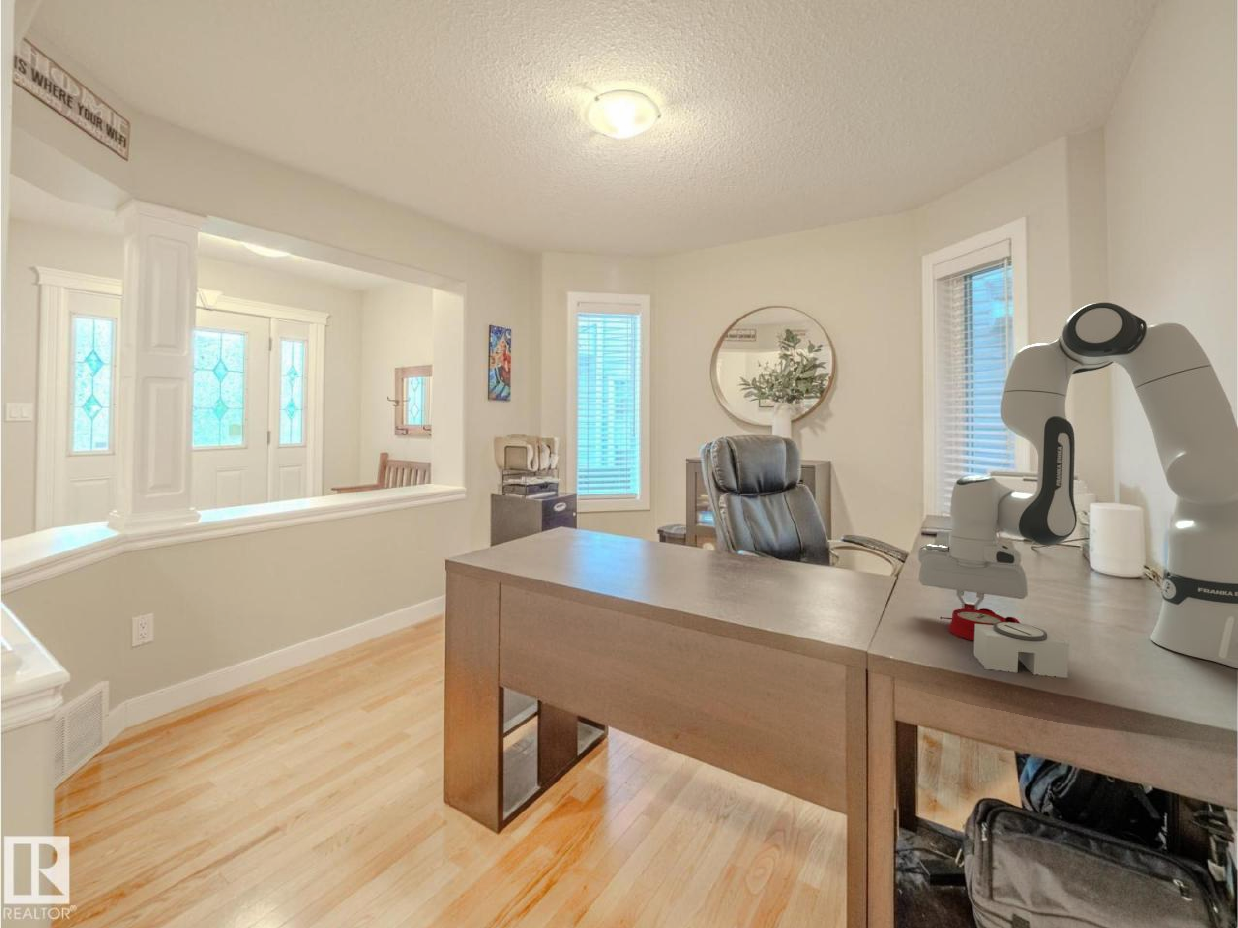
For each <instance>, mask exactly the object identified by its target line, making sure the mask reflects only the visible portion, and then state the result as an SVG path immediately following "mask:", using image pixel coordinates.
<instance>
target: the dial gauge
mask: <svg viewBox="0 0 1238 928" xmlns="http://www.w3.org/2000/svg"><path fill="white" fill-rule="evenodd" d="M1069 647H1070V643H1069V642H1068V641H1067V640H1065V639H1064V638H1062V637H1061V636H1060V635H1058V633H1056V632H1055V631H1053V630H1050V629H1041V628H1039V627H1035V626H1034V625H1029V624H1026V623H1014V622H998V623H995V624H994V625H985V624H975V630H974V641H973V651H972V652H973V654H974V655H973V657H974V656H975V657H976V658H977V659H978V660H977V659H976V658H975V657H974V658H975V659H976V660H977V661H978V662H979V664H980V663H981V664H982V665H983V666H984V667H983V666H982V665H981V666H982V667H983V668H984V669H985V670H989V669H995V670H994V671H999V670H1002V671H1001V672H1008V671H1009V672H1010V673H1018V667H1019V662H1020V661H1021V662H1022V663H1023V664H1024V665H1025V666H1026V667H1025V666H1024V665H1023V664H1022V663H1021V662H1020V663H1021V664H1022V665H1023V666H1024V667H1025V668H1026V669H1027V670H1029V672H1031V673H1032V674H1033V675H1036V674H1038V676H1045V675H1047V676H1048V677H1054V676H1056V678H1063V679H1064V678H1066V679H1067V678H1068V668H1069V667H1068V666H1069V652H1070V651H1069V649H1070V648H1069ZM1018 652H1019V653H1018ZM1019 660H1020V661H1019ZM1047 676H1046V677H1047Z"/></svg>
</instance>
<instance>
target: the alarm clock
mask: <svg viewBox="0 0 1238 928" xmlns="http://www.w3.org/2000/svg"><path fill="white" fill-rule="evenodd" d="M939 618H940V620H943V619H944V620H951V621H950V623H949V625H948V627H947V628H948V629H947V630H948V631H949V632H950V633H951V634H953V635H954V637H955V636H956V637H955V638H958V639H959V638H962V639H966V640H969V641H973V642H974V630H975V624H985V625H994V624H995V623H998V622H1014V623H1020V621H1019V620H1018V618H1016V617H1014V616H1006V617H1003V616H1002V615H1000V614H997V613H996V612H995V611H993V610H992V609H989V608H987V607H985V608H984V607H983V608H978V609H966V608H963V609H962V608H956V609H954V610H953V611H952V613H951V617H943V616H940V617H939ZM1020 624H1021V623H1020Z"/></svg>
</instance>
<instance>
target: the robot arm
mask: <svg viewBox="0 0 1238 928" xmlns="http://www.w3.org/2000/svg"><path fill="white" fill-rule="evenodd" d="M1062 328H1063V329H1062V331H1061V335H1060V336H1059V338H1057V340H1055V341H1053V342H1049V343H1034V344H1030V345H1027V346H1024V347H1023V348H1021V349H1019V351H1018V352H1017V353H1016V354H1015V356H1014V359H1013V360H1012V363H1011V366H1010V367H1009V370H1008V374H1007V376H1006V379H1005V380H1006V381H1005V383H1004V388H1003V393H1002V396H1001V400H1000V418H1001V421H1002V422H1003V424H1004V425H1005V427H1007V429H1009V430H1010V431H1011V432H1013V433H1014V434H1016V435H1018V436H1020V437H1022V438H1024V439H1026V440H1027V441H1029V442H1030V443H1031V444H1032V445H1033V446H1034V448H1035V450H1036V452H1037V472H1036V474H1037V477H1036V490H1035V492H1034V493H1030V492H1029V493H1028V492H1024V491H1019V490H1015V489H1014V488H1013V489H1012V488H1010V487H1008V486H1005V485H1004V484H1001V483H1000V482H999V481H998V480H997V479H996V477H994V476H991V475H986V474H985V475H984V474H983V475H982V474H981V475H968V476H964V477H961V478H959V479H957V480H956V481H955V483H954V486H953V487H952V492H951V498H950V509H949V511H950V512H949V516H950V519H951V527H950V530H949V535H948V536H949V537H948V546H943V545H932V544H926V545H924V546H923V545H922V546H921V547H920V548H919V549H918V551H917V560H918V562H919V563H920V564H919V565H920V566H919V571H918V577H917V579H918V582H919V583H920V584H921V585H922V586H926V587H933V588H939V589H948V590H954V591H956V596H957V599H958V600H959V602H960V603H961V609H963V608H966V609H977V610H979V606H980V604H981V603H982V602H983V600H985V595H990V596H996V597H997V596H998V597H1003V598H1011V599H1018V600H1024V599H1025V598H1027V597H1028V595H1029V588H1028V586H1029V585H1028V577H1027V573H1026V570H1025V567H1024V565H1023V564H1022V560H1023V557H1022V553H1021V552H1020V551H1019V550H1018V549H1016V548H1012V547H1010V546H1007V545H1004V544H1001V543H999V542H998V533H999V532H1000V533H1003V534H1007V535H1010V536H1014V537H1018V538H1023V539H1026V540H1028V541H1031V542H1033V543H1037V544H1040V545H1041V546H1048V547H1050V546H1055V545H1058V544H1060V543H1062V542H1063V541H1065V540H1066V539H1068V538H1069V537H1070V536H1071V535H1072V534H1073V532H1074V531H1075V529H1076V527H1077V523H1078V522H1077V519H1078V517H1077V510H1076V506H1075V498H1074V497H1075V496H1074V495H1075V493H1074V489H1075V486H1074V485H1075V479H1074V478H1075V455H1076V454H1075V453H1076V452H1075V451H1076V449H1075V443H1076V442H1075V441H1076V440H1075V431H1074V428H1073V425H1072V424H1071V422H1070V421H1068V419H1067V416H1066V407H1065V406H1066V397H1067V393H1068V387H1069V383H1070V380H1071V377H1072V375H1076V374H1081V373H1086V372H1094V371H1098V370H1100V369H1105V368H1106V367H1109V366H1110V365H1112V364H1114V363H1116V364H1117V365H1119V366H1121V368H1123V369H1124V370H1125V371H1126V373H1127V374H1128V375H1129V377H1130V380H1131V383H1132V385H1133V388H1134V390H1135V393H1136V394H1137V397H1138V400H1139V402H1140V404H1141V406H1142V409H1143V411H1144V413H1145V415H1146V418H1147V420H1148V422H1149V426H1150V429H1151V432H1152V435H1153V439H1154V444H1155V447H1156V452H1157V453H1158V457H1159V461H1160V464H1161V467H1162V470H1163V473H1164V475H1165V479H1166V483H1167V485H1168V487H1169V489H1170V490H1171V491H1172V492H1173V493H1174V494H1175V495H1176V496H1177V497H1176V501H1175V507H1174V511H1173V516H1172V520H1171V524H1170V527H1169V532H1168V545H1167V562H1166V569H1164V570H1163V573H1162V585H1161V597H1162V598H1161V599H1162V602H1161V608H1160V612H1159V616H1158V619H1157V622H1156V625H1155V627H1154V629H1153V631H1152V633H1151V635H1150V637H1149V638H1150V640H1151V641H1152V642H1153V643H1155V644H1157V645H1158V646H1161V647H1163V648H1165V649H1168V650H1170V651H1173V652H1176V653H1179V654H1182V655H1187V656H1190V657H1194V658H1198V659H1203V660H1206V661H1211V662H1215V663H1218V664H1221V665H1224V666H1228V667H1230V668H1235V669H1238V425H1237V421H1236V419H1235V415H1234V413H1233V409H1232V406H1231V404H1230V401H1229V399H1228V397H1227V395H1226V392H1225V390H1224V388H1223V386H1222V384H1221V381H1220V380H1219V377H1218V376H1217V373H1216V371H1215V370H1214V367H1213V366H1212V365H1213V364H1212V363H1211V361H1210V359H1209V357H1208V355H1207V354H1206V352H1205V350H1204V349H1203V347H1202V346H1201V345H1200V343H1199V342H1198V340H1197V339H1196V338H1195V336H1194V335H1193V334H1192V333H1191V332H1190V330H1189V329H1188V328H1187V327H1186V326H1184V325H1183V324H1180V323H1178V322H1177V323H1176V322H1160V323H1154V324H1152V325H1147V322H1146V320H1145V319H1142V318H1141V317H1140V316H1137V315H1135V314H1134V313H1132V312H1130V311H1129V310H1127V309H1125V308H1124V307H1122V306H1120V305H1117V304H1115V303H1112V302H1095V303H1091V304H1088V305H1087V304H1086V305H1085V306H1083V307H1082V308H1079V309H1078V310H1076V311H1075V312H1073V314H1071V315H1070V316H1069V318H1068V319H1066V321H1065V323H1064V324H1063V327H1062ZM965 592H967V593H968V592H969V593H975V594H976V595H975V596H976V597H975V598H977V599H976V600H975V601H974V602H970V601H966V599H965V597H964V596H965Z"/></svg>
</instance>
